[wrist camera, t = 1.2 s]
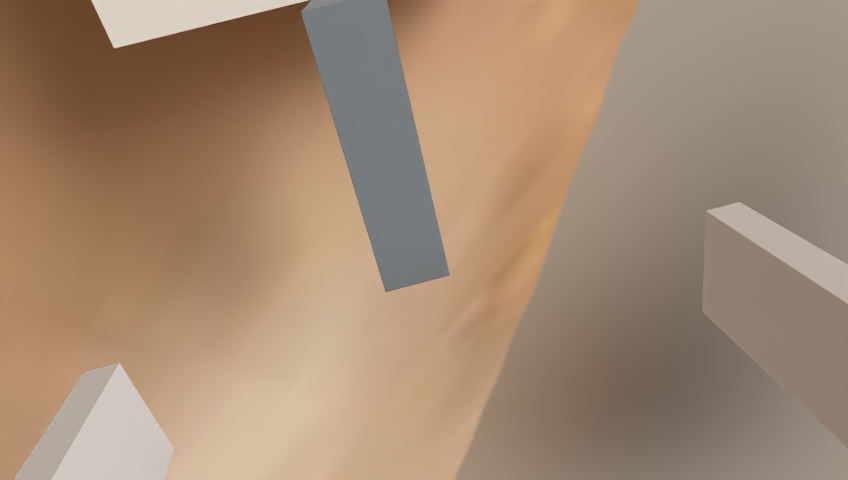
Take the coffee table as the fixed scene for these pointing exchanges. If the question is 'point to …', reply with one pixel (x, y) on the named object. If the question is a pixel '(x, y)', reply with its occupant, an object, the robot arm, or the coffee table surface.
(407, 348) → the coffee table surface
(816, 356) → the robot arm
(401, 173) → the flap
